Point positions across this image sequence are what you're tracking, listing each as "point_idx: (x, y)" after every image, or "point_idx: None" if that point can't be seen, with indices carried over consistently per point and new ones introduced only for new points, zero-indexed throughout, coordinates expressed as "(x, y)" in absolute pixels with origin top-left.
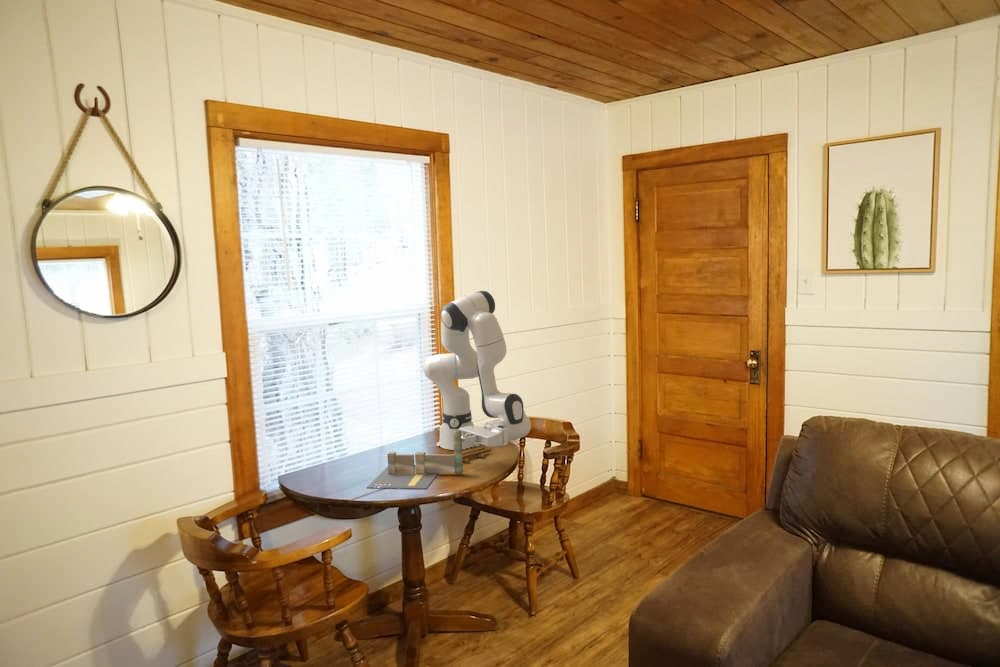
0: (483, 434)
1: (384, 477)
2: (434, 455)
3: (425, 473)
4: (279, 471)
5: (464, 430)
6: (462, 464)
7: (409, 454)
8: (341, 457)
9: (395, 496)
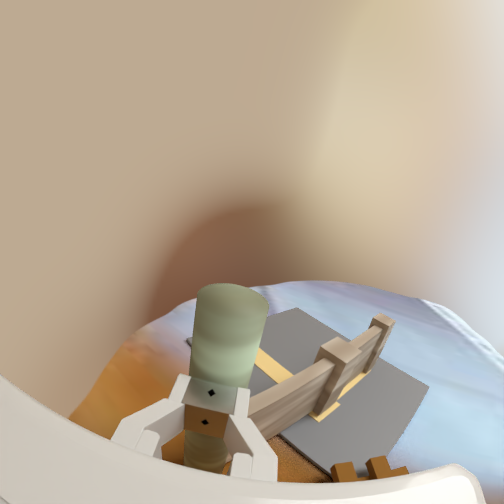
0: (17, 412)
1: None
2: (297, 373)
3: None
4: (435, 303)
5: (375, 480)
6: (185, 453)
7: (362, 343)
8: (488, 356)
9: None
